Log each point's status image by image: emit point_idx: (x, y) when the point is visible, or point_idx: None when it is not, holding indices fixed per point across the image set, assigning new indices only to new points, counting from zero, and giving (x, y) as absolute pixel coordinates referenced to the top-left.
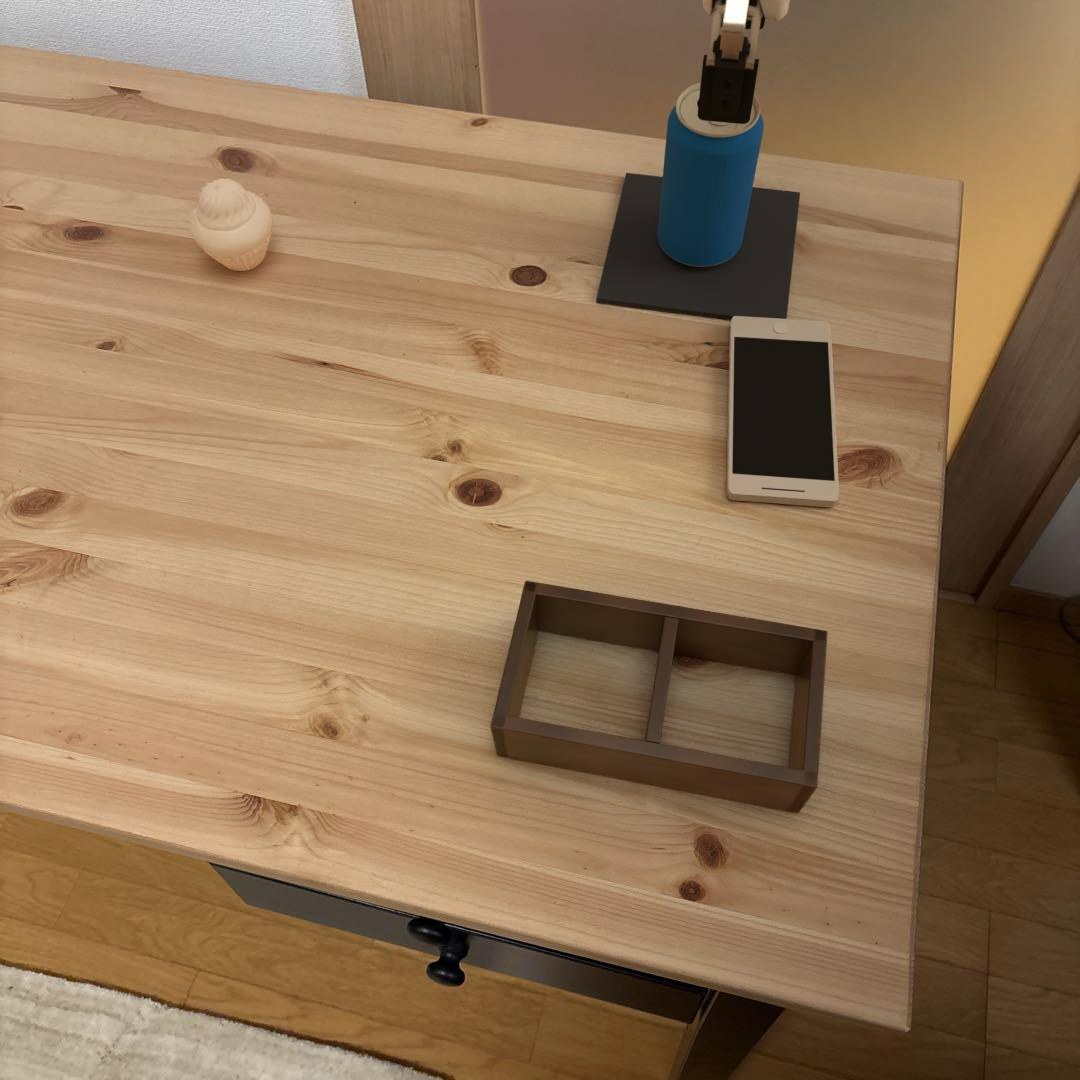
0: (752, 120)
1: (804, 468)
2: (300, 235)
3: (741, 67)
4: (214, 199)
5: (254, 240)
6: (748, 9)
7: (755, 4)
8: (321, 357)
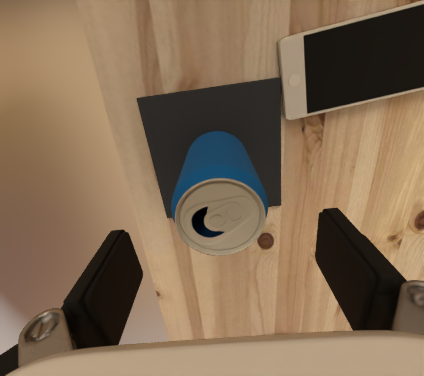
0: (226, 183)
1: None
2: (261, 330)
3: None
4: None
5: None
6: None
7: (117, 266)
8: (336, 301)
